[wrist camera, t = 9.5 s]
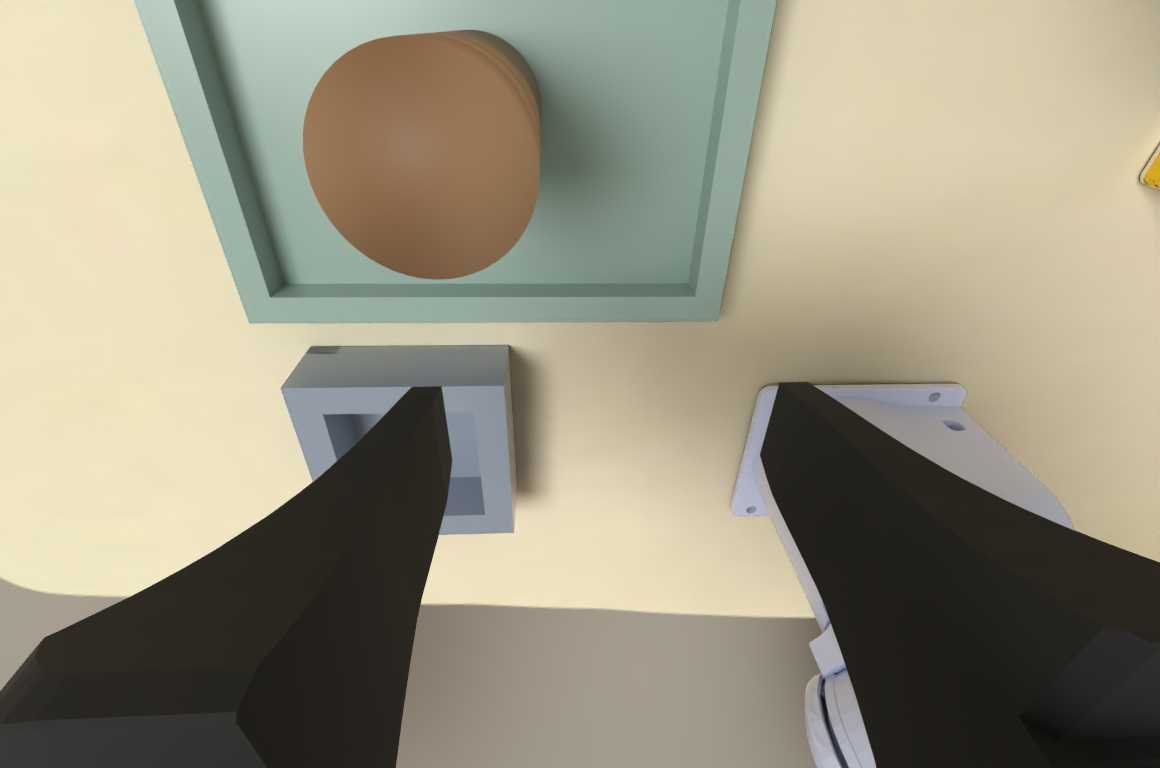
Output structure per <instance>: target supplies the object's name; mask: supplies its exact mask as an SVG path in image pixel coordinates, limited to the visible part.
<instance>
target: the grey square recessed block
mask: <svg viewBox="0 0 1160 768" xmlns="http://www.w3.org/2000/svg"><path fill="white" fill-rule="evenodd" d="M427 386H442V392H443V399H444V406H445V413H446V420H447V427H448V434H449V440H450V447H451V454H452V468H451V476H450V484H449V492H448V499H447V504H446V508H445V512H444V516H443V520H442V524H441V528H440V531H439V535H448V534H487V533H514V524H515V508H516V492H517V478H516V461H515V445H514V428H513V411H512V394H511V377H510V360H509V345H482V346H335V347H310V348H309V350H308V351H307V352H306V354H305V355H304V357H303V358H302V359H301V361H300V362H299V363H298V365H297V366H296V368H295V369H294V370H293V372H292V373H291V375H290V376H289V377H288V379H287V380H286V381H285V383H284V384H283V386H282V387H281V391H282V394H283V397H284V400H285V402H286V405H287V408H288V411H289V414H290V417H291V420H292V423H293V426H294V428H295V431H296V434H297V437H298V440H299V443H300V446H301V449H302V451H303V454H304V457H305V460H306V463H307V466H308V469H309V472H310V475H311V477H312V480H313V482H314V481H315V480H316V479H317V478H318V477H320V476H321V475H322V474H323V473H324V472H325V471H326V470H328V469H329V468H330V467H331V466H332V465H333V464H334V463H335V462H336V461H338V460H339V459H340V458H341V457H342V456H343V455H344V454H345V453H347V452H348V451H349V450H350V449H351V448H352V447H353V446H354V445H355V444H356V443H357V442H358V441H359V440H360V439H361V438H362V437H363V436H364V435H365V434H366V433H367V432H368V431H369V430H370V429H371V428H372V427H373V426H374V425H375V424H376V423H377V422H378V421H379V420H380V419H381V418H382V417H383V416H384V415H385V414H386V413H387V412H388V411H389V410H390V409H391V408H392V407H393V405H394V404H395V403H396V402H397V401H398V400H399V399H400V398H401V397H402V396H403V395H404V394H405V393H406V392H407V391H408V390H409V389H410V388H411V387H427Z"/></svg>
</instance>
